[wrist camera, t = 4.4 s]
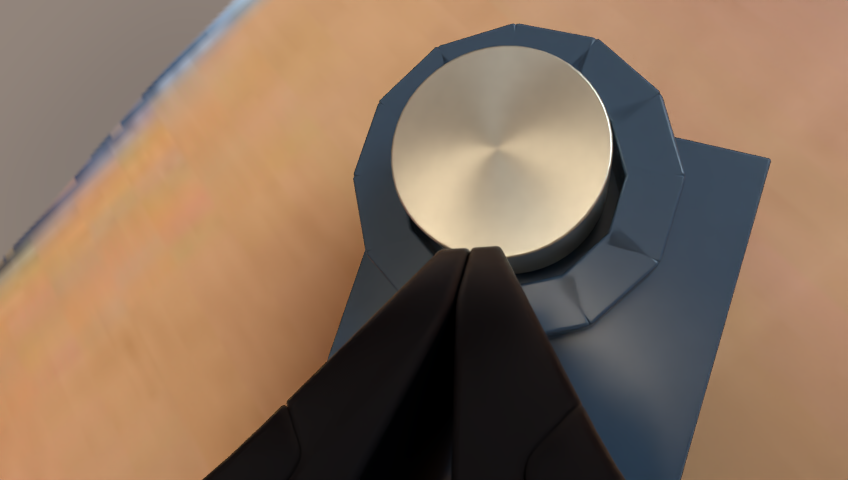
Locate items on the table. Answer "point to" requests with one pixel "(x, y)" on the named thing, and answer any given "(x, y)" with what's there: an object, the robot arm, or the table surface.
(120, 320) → the table surface
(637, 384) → the push button box
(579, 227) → the knob
